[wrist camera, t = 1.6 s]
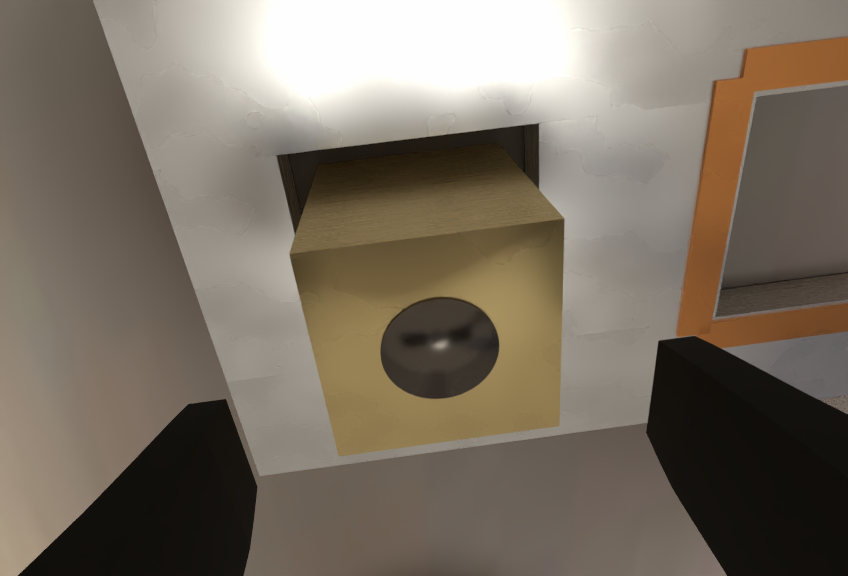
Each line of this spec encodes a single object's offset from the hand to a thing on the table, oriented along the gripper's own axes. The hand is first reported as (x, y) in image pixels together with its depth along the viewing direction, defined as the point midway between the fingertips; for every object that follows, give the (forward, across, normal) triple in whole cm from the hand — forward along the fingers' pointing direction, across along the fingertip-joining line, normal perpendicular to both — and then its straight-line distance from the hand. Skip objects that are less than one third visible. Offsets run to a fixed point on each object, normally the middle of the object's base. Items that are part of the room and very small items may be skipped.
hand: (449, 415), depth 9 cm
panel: (+8, -6, 0) cm, 10 cm away
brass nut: (+8, 0, 0) cm, 8 cm away
